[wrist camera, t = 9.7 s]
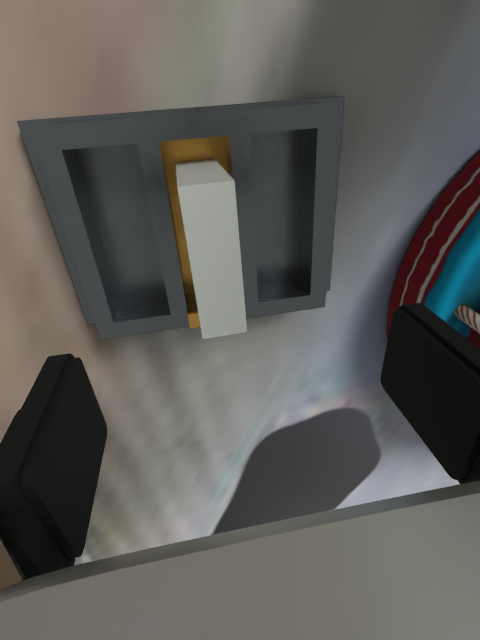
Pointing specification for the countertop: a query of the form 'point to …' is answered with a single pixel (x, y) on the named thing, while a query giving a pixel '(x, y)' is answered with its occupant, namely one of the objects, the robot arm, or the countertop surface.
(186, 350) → the countertop surface
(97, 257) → the grey boxy tray piece
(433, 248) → the birthday cake
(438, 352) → the robot arm
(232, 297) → the panel
